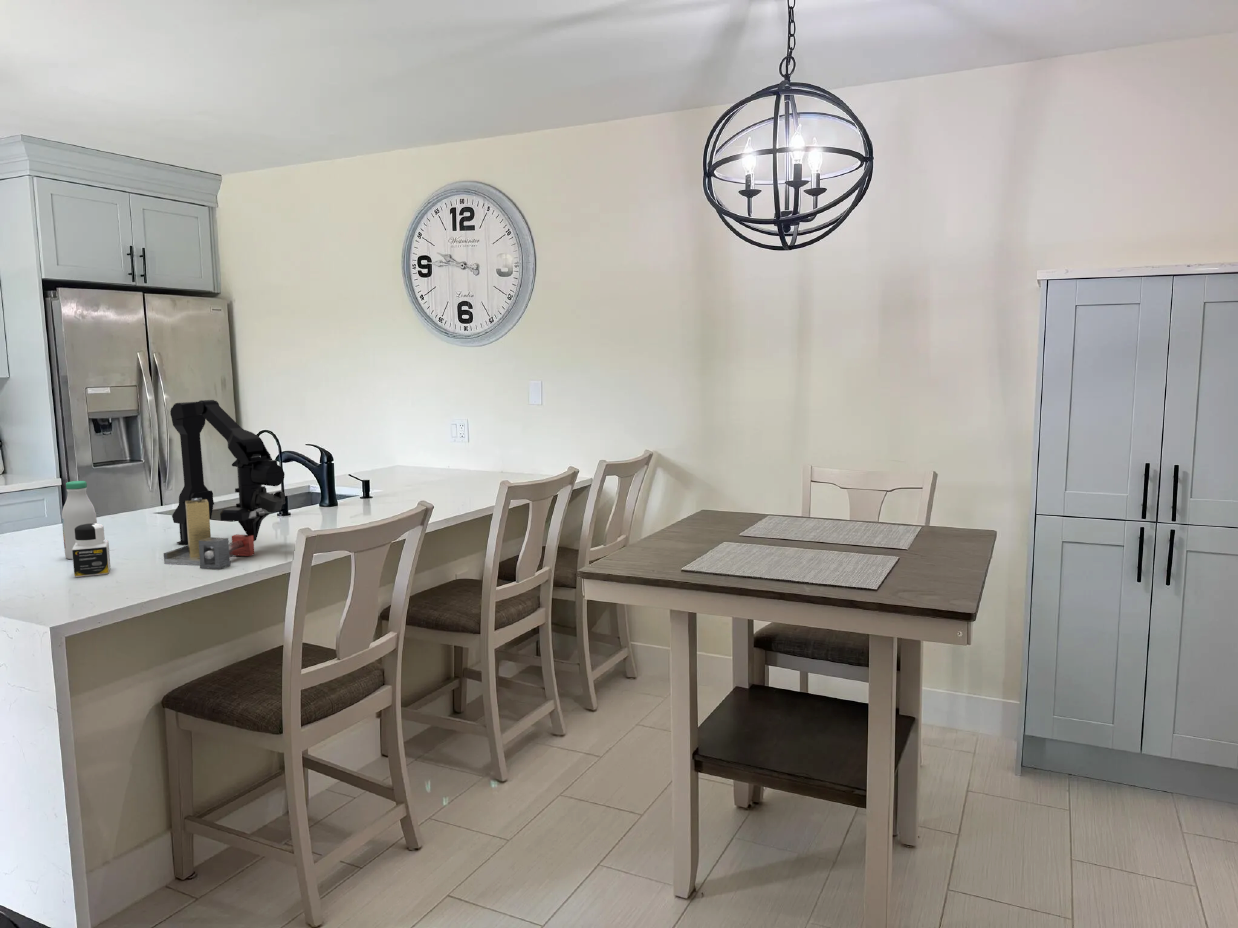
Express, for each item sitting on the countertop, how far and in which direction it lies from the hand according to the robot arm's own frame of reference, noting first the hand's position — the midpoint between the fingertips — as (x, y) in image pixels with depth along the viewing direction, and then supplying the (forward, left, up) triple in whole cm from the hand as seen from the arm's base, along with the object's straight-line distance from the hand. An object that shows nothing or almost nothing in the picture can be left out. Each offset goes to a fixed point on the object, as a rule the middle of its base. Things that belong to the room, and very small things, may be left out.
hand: (253, 540), depth 229 cm
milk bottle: (-42, -12, -3) cm, 44 cm away
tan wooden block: (-9, -9, -2) cm, 13 cm away
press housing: (0, -16, -3) cm, 16 cm away
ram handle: (0, -11, -3) cm, 11 cm away
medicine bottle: (-26, -26, -3) cm, 37 cm away
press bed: (-9, -9, -3) cm, 13 cm away
